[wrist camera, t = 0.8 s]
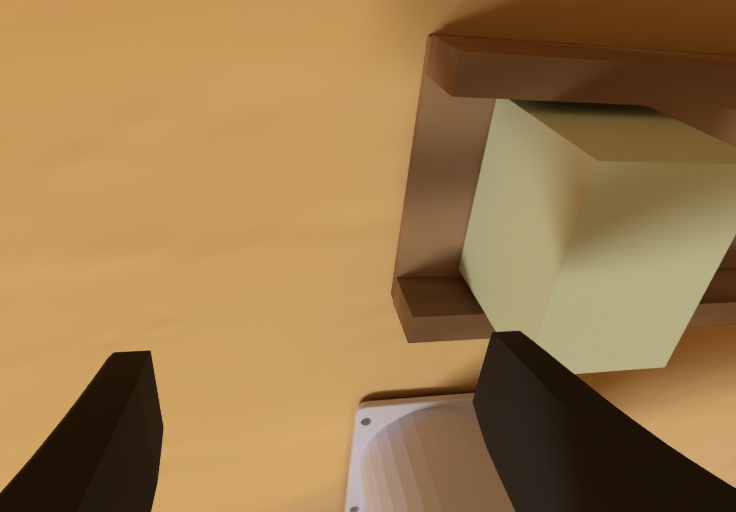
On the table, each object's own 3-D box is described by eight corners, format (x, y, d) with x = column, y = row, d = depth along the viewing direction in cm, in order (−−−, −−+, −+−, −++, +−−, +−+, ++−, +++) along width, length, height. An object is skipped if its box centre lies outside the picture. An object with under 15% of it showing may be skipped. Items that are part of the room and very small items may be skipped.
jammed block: (570, 266, 22) (664, 367, 17) (458, 269, 21) (523, 377, 16) (630, 98, 18) (772, 164, 13) (497, 91, 17) (597, 161, 12)
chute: (766, 281, 25) (820, 319, 23) (390, 296, 22) (407, 343, 19) (897, 65, 20) (984, 85, 18) (428, 32, 16) (459, 51, 14)
